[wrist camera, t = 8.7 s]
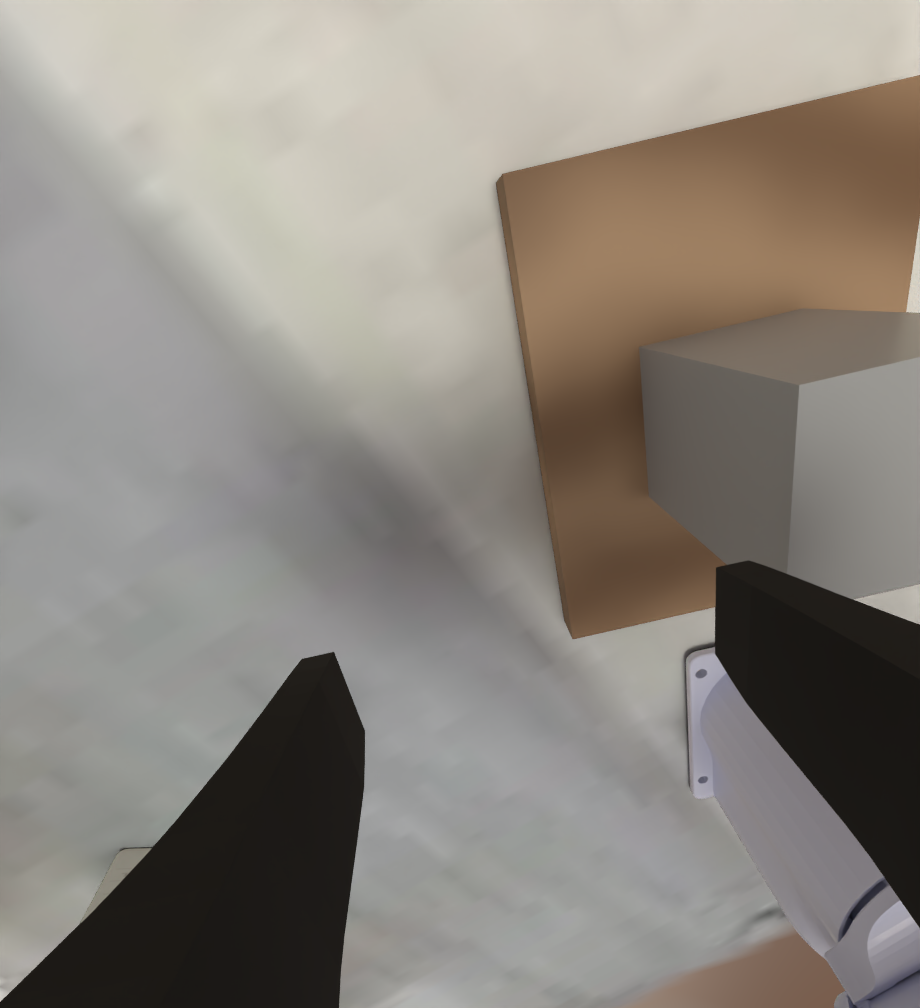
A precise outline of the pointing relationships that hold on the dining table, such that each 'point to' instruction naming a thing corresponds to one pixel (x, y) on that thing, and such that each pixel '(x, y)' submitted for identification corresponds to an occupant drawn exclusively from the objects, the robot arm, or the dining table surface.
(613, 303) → the walnut board
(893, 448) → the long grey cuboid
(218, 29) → the dining table surface
